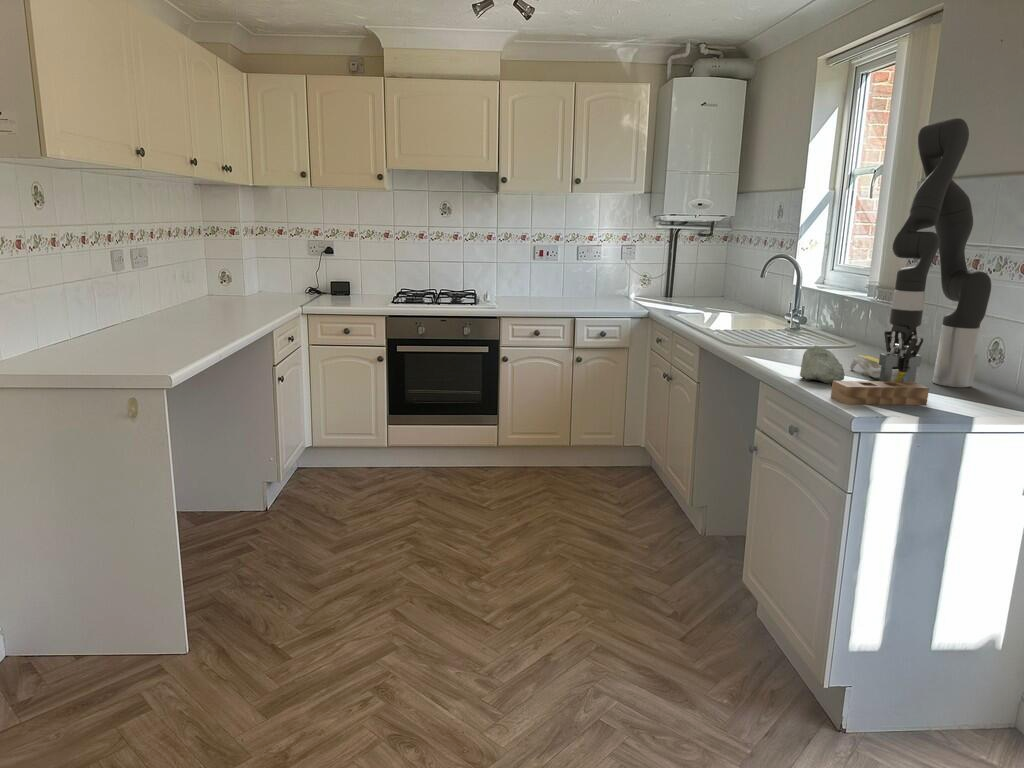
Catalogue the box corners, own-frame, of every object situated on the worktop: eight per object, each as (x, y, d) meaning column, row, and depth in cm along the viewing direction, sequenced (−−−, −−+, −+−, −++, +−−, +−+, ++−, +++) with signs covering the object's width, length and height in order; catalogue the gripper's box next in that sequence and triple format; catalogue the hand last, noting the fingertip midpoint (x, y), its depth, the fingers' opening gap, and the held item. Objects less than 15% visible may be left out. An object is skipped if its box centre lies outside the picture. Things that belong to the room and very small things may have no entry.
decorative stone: (788, 374, 216) (792, 351, 208) (820, 361, 217) (826, 337, 209) (816, 405, 207) (821, 382, 199) (850, 391, 208) (857, 367, 201)
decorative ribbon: (874, 355, 227) (931, 374, 197) (868, 373, 228) (925, 395, 198) (850, 351, 226) (904, 369, 197) (845, 369, 227) (898, 390, 198)
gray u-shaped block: (910, 381, 198) (914, 353, 196) (917, 384, 195) (921, 355, 193) (876, 382, 197) (880, 353, 195) (882, 384, 194) (886, 355, 192)
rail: (909, 398, 191) (912, 381, 190) (926, 404, 184) (929, 388, 183) (830, 397, 189) (833, 380, 188) (844, 404, 182) (847, 386, 181)
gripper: (938, 310, 185) (928, 375, 189) (903, 304, 198) (895, 365, 202) (911, 310, 184) (901, 376, 188) (878, 304, 198) (870, 365, 202)
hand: (898, 370), depth 195 cm, fingers closed on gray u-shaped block, 3 cm apart
